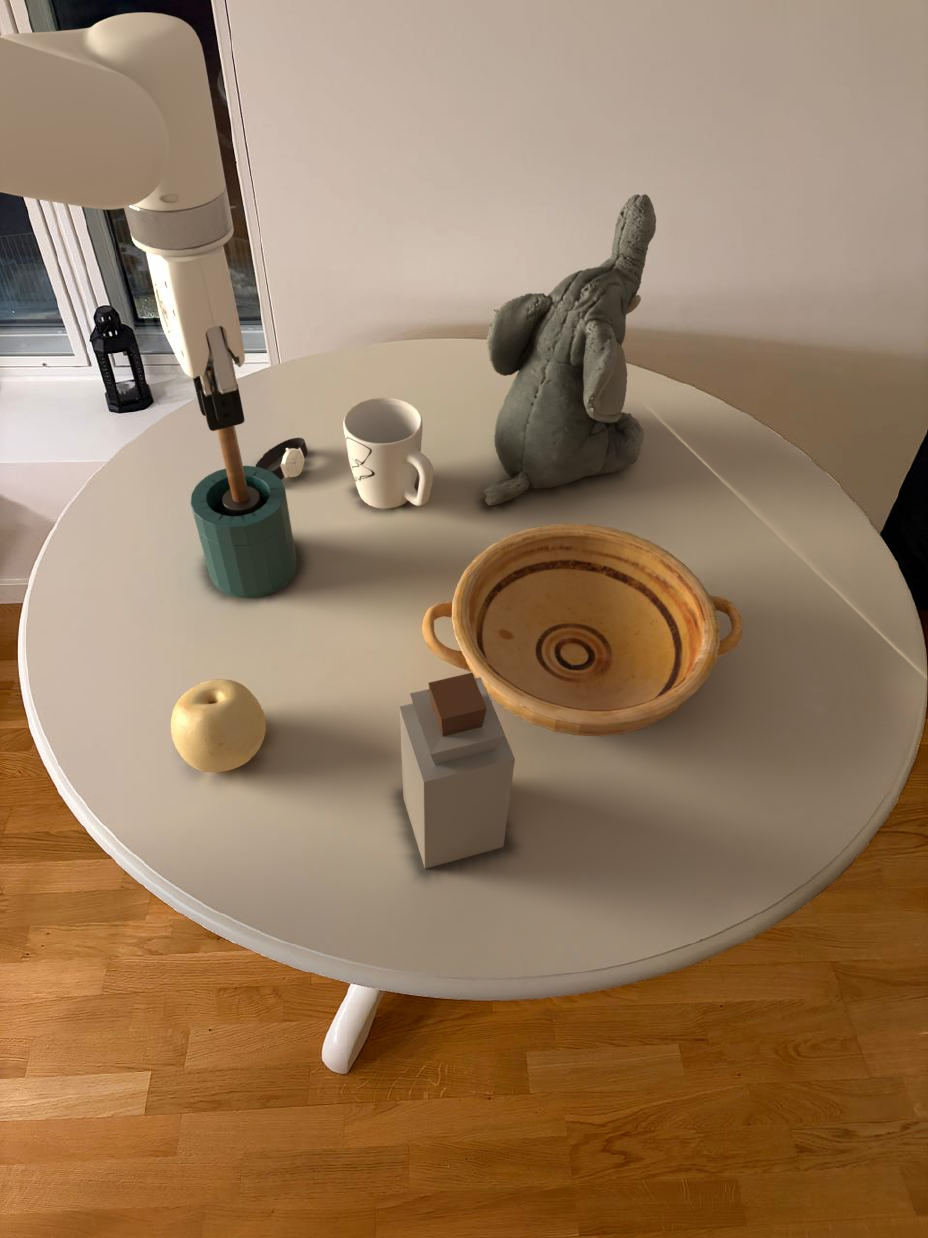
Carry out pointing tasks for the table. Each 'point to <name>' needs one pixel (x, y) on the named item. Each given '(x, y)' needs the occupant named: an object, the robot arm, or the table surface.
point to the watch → (286, 458)
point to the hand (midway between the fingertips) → (222, 417)
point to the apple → (218, 725)
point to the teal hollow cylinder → (245, 535)
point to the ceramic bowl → (584, 628)
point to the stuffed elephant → (570, 369)
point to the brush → (236, 476)
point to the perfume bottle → (455, 770)
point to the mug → (387, 452)
